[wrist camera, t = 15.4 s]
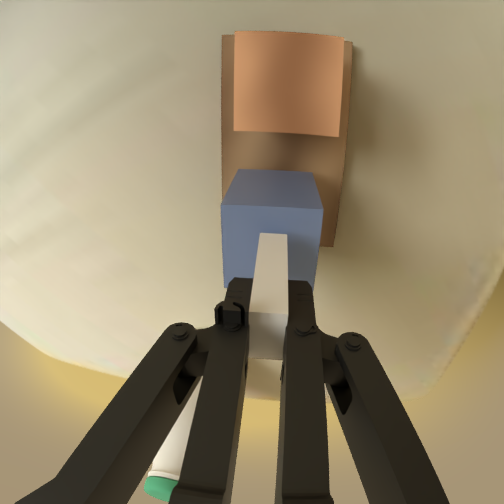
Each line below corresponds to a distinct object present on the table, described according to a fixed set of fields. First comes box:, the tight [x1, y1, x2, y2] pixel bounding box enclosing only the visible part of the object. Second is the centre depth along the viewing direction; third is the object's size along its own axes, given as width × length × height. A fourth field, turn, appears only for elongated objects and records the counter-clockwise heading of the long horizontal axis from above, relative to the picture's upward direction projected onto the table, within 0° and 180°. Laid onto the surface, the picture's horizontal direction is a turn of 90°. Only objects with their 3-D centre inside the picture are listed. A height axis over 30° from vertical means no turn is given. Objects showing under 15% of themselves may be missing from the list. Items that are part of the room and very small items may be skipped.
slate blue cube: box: [221, 169, 324, 291], centre depth 22 cm, size 6×6×8 cm
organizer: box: [221, 31, 352, 247], centre depth 21 cm, size 10×18×9 cm, turn 179°
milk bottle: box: [144, 329, 203, 502], centre depth 30 cm, size 8×8×20 cm
